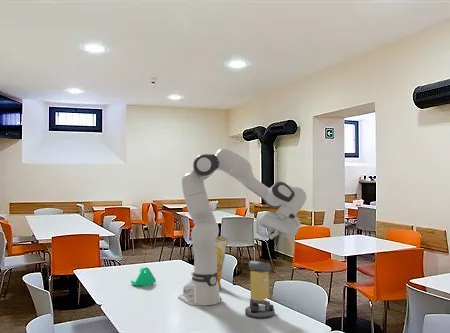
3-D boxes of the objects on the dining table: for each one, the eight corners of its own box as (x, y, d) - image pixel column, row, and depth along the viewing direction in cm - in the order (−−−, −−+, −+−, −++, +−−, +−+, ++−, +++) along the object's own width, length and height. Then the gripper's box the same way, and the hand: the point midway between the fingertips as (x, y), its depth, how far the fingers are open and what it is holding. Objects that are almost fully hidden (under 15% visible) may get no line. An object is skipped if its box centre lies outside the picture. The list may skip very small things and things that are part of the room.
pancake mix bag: (209, 282, 247) (209, 233, 248) (228, 289, 232) (228, 237, 232) (199, 283, 244) (200, 234, 244) (218, 290, 228) (218, 238, 229)
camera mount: (149, 281, 249) (149, 264, 249) (155, 284, 242) (155, 266, 243) (130, 284, 242) (130, 266, 242) (136, 287, 235) (136, 268, 236)
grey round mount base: (239, 314, 188) (239, 301, 188) (255, 307, 198) (255, 294, 198) (264, 320, 180) (264, 306, 180) (280, 313, 190) (280, 299, 190)
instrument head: (247, 303, 189) (246, 262, 189) (255, 300, 194) (255, 259, 195) (264, 307, 183) (263, 264, 184) (272, 303, 189) (272, 261, 189)
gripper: (266, 205, 212) (250, 226, 207) (299, 218, 198) (283, 241, 193) (270, 213, 216) (254, 234, 211) (303, 226, 202) (288, 248, 197)
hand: (268, 237), depth 202 cm, fingers closed
